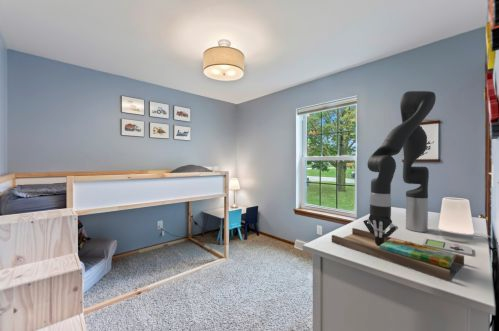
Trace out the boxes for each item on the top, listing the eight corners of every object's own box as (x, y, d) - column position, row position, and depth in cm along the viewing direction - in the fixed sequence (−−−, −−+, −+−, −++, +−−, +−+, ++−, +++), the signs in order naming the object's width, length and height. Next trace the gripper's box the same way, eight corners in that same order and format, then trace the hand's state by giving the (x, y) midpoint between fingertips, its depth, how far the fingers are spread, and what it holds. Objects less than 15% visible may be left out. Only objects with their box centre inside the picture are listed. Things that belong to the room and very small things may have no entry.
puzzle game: (390, 236, 91) (455, 251, 76) (390, 247, 91) (455, 264, 76) (379, 243, 84) (449, 261, 68) (379, 255, 84) (449, 275, 68)
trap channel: (353, 233, 109) (353, 227, 109) (464, 264, 77) (464, 255, 76) (331, 242, 98) (331, 235, 98) (449, 281, 66) (449, 271, 66)
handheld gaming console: (472, 253, 83) (422, 243, 93) (472, 257, 83) (422, 246, 93) (471, 246, 90) (425, 237, 100) (471, 249, 90) (425, 240, 100)
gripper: (402, 205, 87) (401, 249, 87) (368, 200, 97) (367, 239, 98) (394, 207, 82) (393, 253, 83) (359, 202, 93) (358, 242, 93)
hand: (379, 245), depth 90 cm, fingers closed
